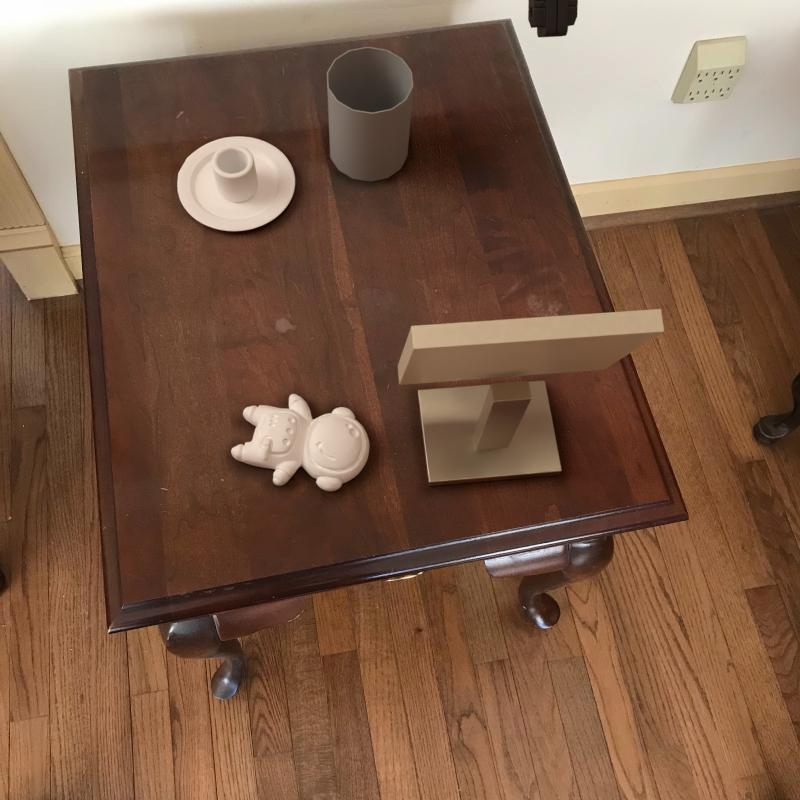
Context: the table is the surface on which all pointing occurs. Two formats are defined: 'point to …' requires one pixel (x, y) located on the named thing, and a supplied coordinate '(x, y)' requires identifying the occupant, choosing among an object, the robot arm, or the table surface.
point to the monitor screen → (524, 346)
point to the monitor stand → (487, 433)
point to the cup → (369, 112)
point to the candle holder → (236, 183)
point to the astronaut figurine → (305, 443)
